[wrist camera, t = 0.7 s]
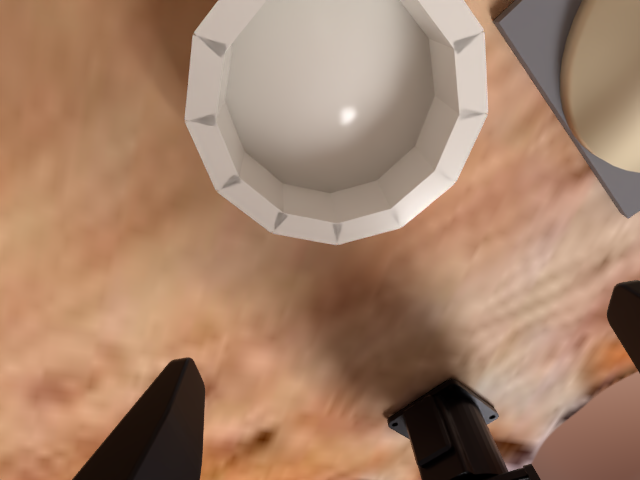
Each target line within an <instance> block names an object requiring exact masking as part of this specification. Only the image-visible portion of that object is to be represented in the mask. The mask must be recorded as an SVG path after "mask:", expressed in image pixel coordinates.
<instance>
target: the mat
mask: <svg viewBox="0 0 640 480" xmlns="http://www.w3.org/2000/svg"><path fill="white" fill-rule="evenodd" d="M581 2H582V0H515V1H514V2H513V3H512V4H510V5H509V6H508V7H507V8H506V9H505V10H504V11H503V12H502V13H501V14H500V15H499V16H498V17H497V18H496V19H495V20H494V21H493V22H494V24H495V25H496V27H497V28H498V30H499V31H500V33H501V34H502V36H503V37H504V39H505V40H506V42H507V43H508V45H509V46H510V48H511V49H512V51H513V52H514V54H515V55H516V57H517V58H518V60H519V61H520V63H521V64H522V66H523V67H524V69H525V70H526V72H527V73H528V75H529V76H530V78H531V79H532V81H533V82H534V84H535V85H536V87H537V88H538V90H539V91H540V93H541V94H542V96H543V97H544V99H545V100H546V102H547V103H548V105H549V106H550V108H551V109H552V111H553V112H554V114H555V115H556V117H557V118H558V120H559V121H560V123H561V124H562V126H563V127H564V129H565V130H566V132H567V133H568V135H569V136H570V138H571V139H572V141H573V142H574V144H575V145H576V147H577V148H578V150H579V151H580V153H581V154H582V156H583V157H584V159H585V160H586V162H587V163H588V165H589V166H590V168H591V169H592V171H593V172H594V174H595V175H596V177H597V178H598V180H599V181H600V183H601V184H602V186H603V187H604V189H605V190H606V192H607V193H608V195H609V196H610V198H611V199H612V201H613V202H614V204H615V205H616V207H617V208H618V210H619V211H620V213H621V214H622V215H624V216H625V217H627V218H630V217H631V216H633V215H634V214H636V213H637V212H639V211H640V173H638V172H633V171H627V170H624V169H621V168H618V167H615V166H613V165H611V164H609V163H608V162H606V161H604V160H602V159H601V158H599V157H597V156H595V155H594V154H592V153H590V152H589V151H588V150H587V149H585V148H584V147H583V146H582V145H581V144H580V143H579V142H578V140H577V139H576V138H575V137H574V135H573V134H572V132H571V130H570V128H569V126H568V124H567V122H566V119H565V116H564V113H563V110H562V104H561V98H560V71H561V62H562V57H563V52H564V48H565V44H566V40H567V37H568V34H569V31H570V28H571V25H572V22H573V19H574V17H575V15H576V13H577V11H578V8H579V6H580V4H581Z"/></svg>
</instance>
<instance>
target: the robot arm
mask: <svg viewBox="0 0 640 480" xmlns="http://www.w3.org/2000/svg"><path fill="white" fill-rule="evenodd" d="M607 318H608V321H609V324H610V326H611V327H612V329H613V330H614V332H615V334H616V335H617V337H618V339H619V340H620V342H621V343H622V345H623V347H624V348H625V350H626V352H627V353H628V355H629V356H630V358H631V360H632V361H633V363H634V365H635V366H636V368H637V369H638V371H639V373H640V281H638V280H634V281H628V282H623V283H619V284H617V285H616V286H615V287H614V289H613V292H612V296H611V299H610V303H609V306H608V310H607ZM204 407H205V386H204V382H203V380H202V378H201V375H200V373H199V371H198V369H197V367H196V365H195V363H194V361H193V359H192V358H188V357H187V358H181V359H176V360H172V361H171V362H170V363H169V364H168V365H167V366H166V367H165V368H164V370H163V371H162V372H161V373H160V374H159V376H158V377H157V378H156V379H155V380H154V382H153V383H152V384H151V385H150V386H149V388H148V389H147V390H146V391H145V392H144V394H143V395H142V396H141V397H140V398H139V400H138V401H137V402H136V403H135V405H134V406H133V407H132V408H131V409H130V411H129V412H128V413H127V414H126V415H125V417H124V418H123V419H122V420H121V421H120V423H119V424H118V425H117V426H116V427H115V429H114V430H113V431H112V432H111V433H110V435H109V436H108V437H107V438H106V439H105V441H104V442H103V443H102V444H101V445H100V447H99V448H98V449H97V450H96V451H95V453H94V454H93V455H92V456H91V457H90V459H89V460H88V461H87V462H86V464H85V465H84V466H83V467H82V468H81V470H80V471H79V472H78V473H77V474H76V476H75V477H74V478H73V479H72V480H200V474H201V466H202V453H203V430H204ZM498 417H499V415H498V413H497V411H496V410H495V409H494V408H493V407H491V406H490V405H489V404H487V403H486V402H485V401H483V400H482V399H481V398H479V397H478V396H477V395H475V394H474V393H473V392H471V391H470V390H469V389H467V388H466V387H465V386H463V385H462V384H461V383H459V382H458V381H457V380H455V379H450V380H447V381H446V382H444V383H442V384H441V385H439V386H438V387H436V388H435V389H433V390H432V391H430V392H428V393H427V394H425V395H424V396H422V397H421V398H419V399H418V400H416V401H414V402H413V403H411V404H410V405H408V406H407V407H405V408H404V409H402V410H400V411H399V412H397V413H396V414H394V415H393V416H391V417H390V418H388V420H387V421H388V426H389V427H390V428H391V429H393V430H395V431H396V432H398V433H400V434H401V435H403V436H405V437H406V438H408V439H410V442H411V445H412V449H413V452H414V456H415V460H416V463H417V465H418V468H419V471H420V475H421V478H422V480H540V478H539V476H538V474H537V473H536V471H535V469H534V468H533V466H532V464H529V465H525V466H523V468H520V469H517V470H513V471H510V472H508V469H507V467H506V465H505V463H504V461H503V459H502V456H501V454H500V452H499V450H498V448H497V446H496V444H495V441H494V439H493V437H492V435H491V433H490V431H489V428H488V426H487V424H489V423H491V422H492V421H494V420H496V419H497V418H498Z"/></svg>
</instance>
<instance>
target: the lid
mask: <svg viewBox="0 0 640 480" xmlns="http://www.w3.org/2000/svg"><path fill="white" fill-rule="evenodd" d="M560 98H561V104H562V110H563V113H564V116H565V119H566V122H567V124H568V126H569V128H570V130H571V132H572V134H573V135H574V137H575V138H576V139H577V140H578V142H579V143H580V144H581V145H582V146H583V147H584V148H585V149H587V150H588V151H589V152H590V153H592V154H594V155H595V156H597V157H599V158H601V159H602V160H604V161H606V162H608V163H609V164H611V165H613V166H615V167H618V168H621V169H624V170H627V171H633V172H638V173H640V0H582V2H581V4H580V6H579V8H578V11H577V13H576V15H575V17H574V19H573V22H572V25H571V28H570V31H569V34H568V37H567V40H566V44H565V48H564V52H563V57H562V62H561V71H560Z"/></svg>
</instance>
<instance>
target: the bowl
mask: <svg viewBox="0 0 640 480" xmlns="http://www.w3.org/2000/svg"><path fill="white" fill-rule="evenodd" d="M483 30H484V29H483V28H482V26H481V25H480V23H479V22H478V20H477V19H476V17H475V16H474V15H473V13H472V12H471V10H470V9H469V7H468V6H467V4H466V3H465V1H464V0H218V1H217V3H216V4H215V5H214V6H213V8H212V9H211V10H210V12H209V13H208V14H207V16H206V17H205V18H204V20H203V21H202V22H201V24H200V25H199V26H198V27H197V29H196V30H195V31H194V34H193V37H192V47H191V58H190V68H189V78H188V88H187V99H186V109H185V119H184V120H186V121H185V124H186V126H187V128H188V130H189V132H190V135H191V137H192V139H193V141H194V143H195V146H196V148H197V150H198V152H199V155H200V157H201V159H202V161H203V163H204V166H205V168H206V170H207V172H208V174H209V177H210V179H211V181H212V183H213V185H214V188H215V190H217V192H218V193H219V194H220V195H222V196H223V197H224V198H226V199H227V200H228V201H229V202H231V203H232V204H233V205H235V206H236V207H237V208H239V209H240V210H241V211H243V212H244V213H245V214H247V215H248V216H249V217H251V218H252V219H253V220H255V221H256V222H257V223H258V224H260V225H261V226H262V227H264V228H265V229H266V230H268V231H269V232H270V233H272V232H273V234H277V235H283V236H288V237H294V238H299V239H305V240H310V241H316V242H321V243H327V244H332V245H336V244H338V245H340V244H344V243H347V242H351V241H355V240H358V239H362V238H366V237H370V236H373V235H377V234H381V233H384V232H388V231H392V230H395V229H399V228H401V227H403V226H404V225H406V224H407V223H408V222H409V221H410V220H412V219H413V218H414V217H415V216H416V215H418V214H419V213H420V212H421V211H422V210H424V209H425V208H426V207H427V206H428V205H430V204H431V203H432V202H433V201H434V200H436V199H437V198H438V197H439V196H440V195H442V194H443V193H444V192H445V191H446V190H448V189H449V188H450V187H451V186H452V185H454V184H455V183H454V182H456V181H457V179H458V177H459V175H460V173H461V171H462V168H463V166H464V164H465V162H466V160H467V158H468V156H469V153H470V151H471V149H472V147H473V145H474V143H475V141H476V139H477V136H478V134H479V132H480V130H481V128H482V126H483V124H484V121H485V119H486V117H487V115H488V114H486V113H488V97H487V75H486V52H485V32H483ZM400 226H401V227H400Z"/></svg>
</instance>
